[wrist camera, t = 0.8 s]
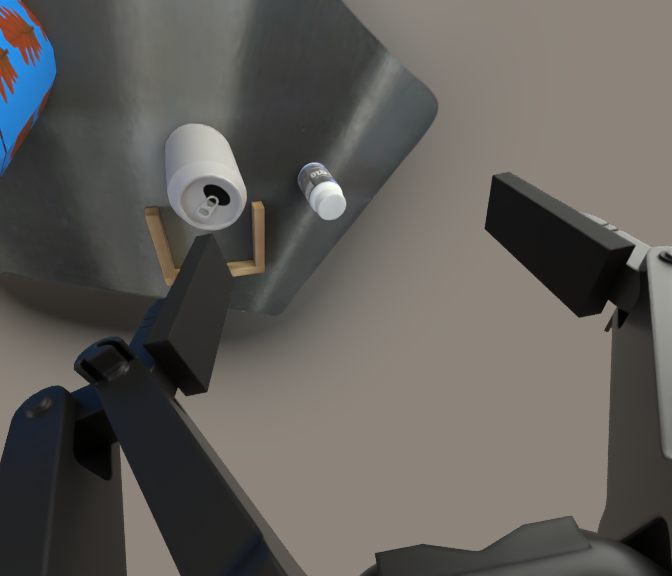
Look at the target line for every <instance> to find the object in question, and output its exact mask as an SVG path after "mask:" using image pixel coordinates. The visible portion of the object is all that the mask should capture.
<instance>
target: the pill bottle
mask: <svg viewBox="0 0 672 576" xmlns="http://www.w3.org/2000/svg"><path fill="white" fill-rule="evenodd" d="M298 184H299V186H300V188H301V190H302V192H303V193H304V195H305V197H306V198H307V200H308V202H309V204H310V205H311V207H312V208H313V210H315V211H316V212H318V214H319V215H320V217H321V218H323V219H325V220H333V219H336V218H338V217H339V216H340V215H341V214H342V213H343V212H344V210H345V208H346V200H345V198H344V197H343V195H342V190H341V188H340V187H339V185H338V184H337V183H336V181H335V180H334V178H333V177H332V176H331V174H330V173H329V172H328V170H327V169H326V168H325V167H324V166H323V165H322V164H319V163H309V164H307V165H305V166H304V167H303V168H302V169H301V171H300V173H299V175H298Z"/></svg>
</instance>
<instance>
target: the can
mask: <svg viewBox="0 0 672 576" xmlns="http://www.w3.org/2000/svg"><path fill="white" fill-rule="evenodd" d="M165 162H166V178H167V194H168V198H169V202H170V205H171V206H172V208H173V209H174V211H175V212H176V214H178V215H179V216H180V217H181V218H183V219H184V220H185V221H186V222H188V223H189V224H190V225H192V226H194V227H197V228H199V229H203V230H220V229H223V228H226V227H228V226H230V225H231V224H233V223H234V222H235V221H236V220H237V219H238V218H239V216H240V215H241V212H242V211H243V210H244V207H245V204H246V200H247V196H246V188H245V185H244V183H243V180H242V177H241V175H240V172H239V169H238V167H237V164H236V161H235V159H234V156H233V153H232V151H231V148H230V146H229V144H228V142H227V140H226V139H225V138H224V137H223V136H222V134H221V133H219V132H218V131H216V130H215V129H213V128H212V127H209V126H206V125H203V124H186V125H183V126H180V127H178V128H177V129H176V130H174V131H173V132H172V133H171V134H170V136H169V138H168V139H167V141H166V146H165Z"/></svg>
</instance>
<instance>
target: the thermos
mask: <svg viewBox="0 0 672 576" xmlns="http://www.w3.org/2000/svg"><path fill="white" fill-rule="evenodd" d="M56 72H57V70H56V64H55V58H54V52H53V48H52V46H51V44H50V42H49V40H48V38H47V36H46V34H45V32H44V30H43V28H42V26H41V24H40V22H39V21H38V20H37V18H36V17H35V16H34V15H33V14H32V12H31V11H30V10H29V9H28V8H27V6H26V5H25V4H24V3H23V2H22V1H21V0H0V177H1V176H2V174H3V173H4V171H5V169H6V168H7V166H8V165H9V163H10V161H11V160H12V158H13V157H14V155H15V153H16V152H17V150H18V149H19V147H20V145H21V144H22V142H23V141H24V139H25V137H26V136H27V134H28V133H29V131H30V129H31V128H32V126H33V125H34V123H35V121H36V120H37V118H38V117H39V115H40V114H41V112H42V110H43V109H44V107H45V106H46V103H47V100H48V98H49V95H50V92H51V89H52V86H53V83H54V79H55V76H56Z"/></svg>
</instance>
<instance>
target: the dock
mask: <svg viewBox="0 0 672 576" xmlns="http://www.w3.org/2000/svg"><path fill="white" fill-rule="evenodd" d="M251 206H252V236H253V260H246V261H237V262H229V263H227V265H228V267H229V269H230V271H231V274H232V276H233V277H234V276H241V275H248V274H255V273H262V272H265V266H264V265H265V209H264V206H263V204H262V201H258V202H251ZM145 218H146V221H147V224H148V228H149V231H150V234H151V237H152V240H153V243H154V247H155V250H156V253H157V256H158V259H159V262H160V266H161V269H162V272H163V275H164V278H165V281H166V285H167V286H169V285H173V283H174V281H175V279H176V277H177V275H178V273H179V271H180V269H181V268H180V269H175V267H174V263H173V260H172V256H171V252H170V249H169V245H168V241H167V238H166V234H165V230H164V227H163V223H162V220H161V216H160V212H159V209H158V207H147V208H145Z"/></svg>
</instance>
